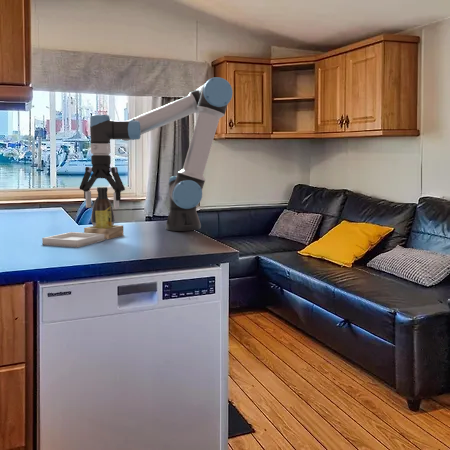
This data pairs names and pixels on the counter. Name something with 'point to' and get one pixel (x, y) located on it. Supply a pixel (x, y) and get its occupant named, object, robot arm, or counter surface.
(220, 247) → the counter surface
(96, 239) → the grey tray
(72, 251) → the counter surface
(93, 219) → the black bullet shaped dome
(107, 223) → the sauce bottle
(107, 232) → the oak holder
